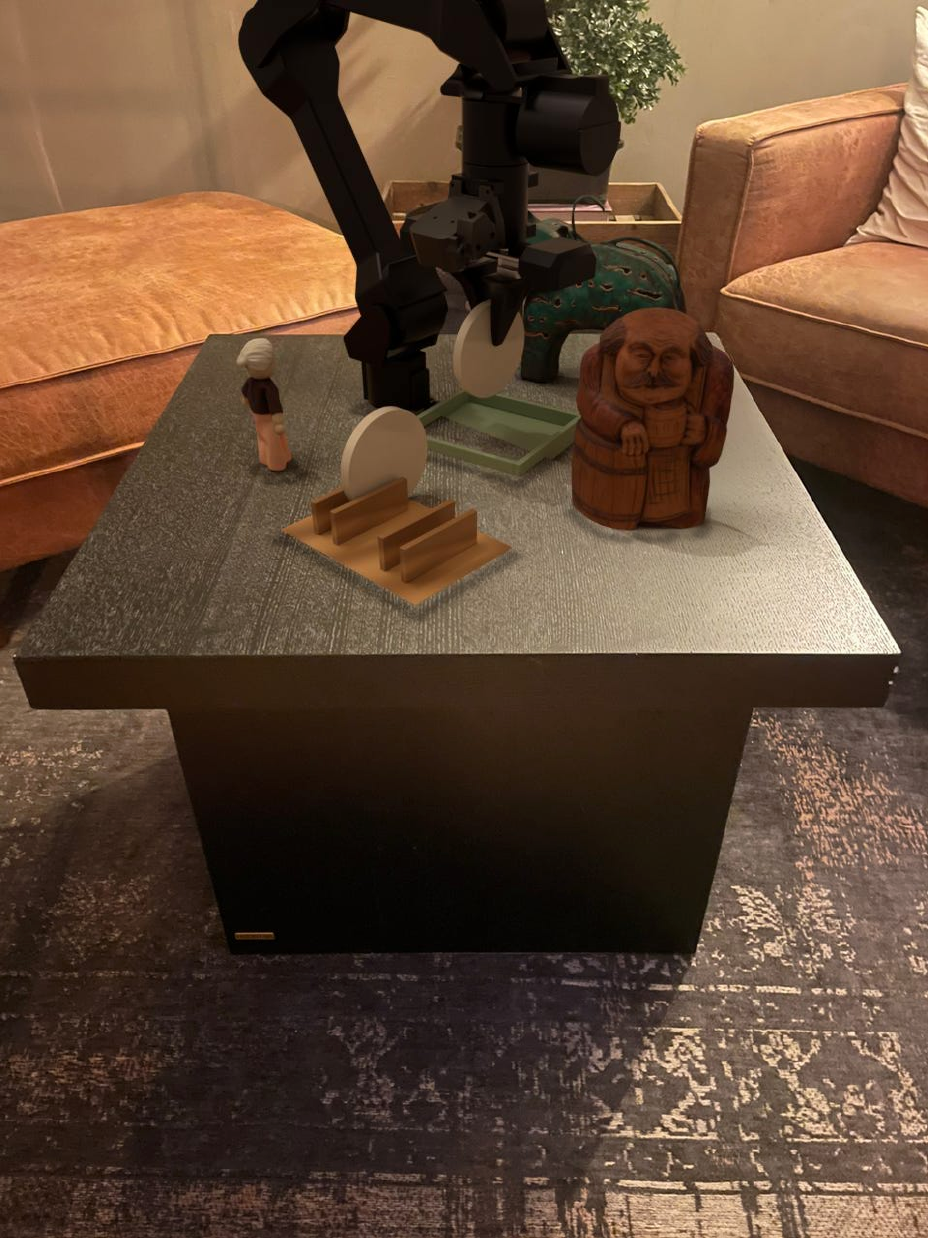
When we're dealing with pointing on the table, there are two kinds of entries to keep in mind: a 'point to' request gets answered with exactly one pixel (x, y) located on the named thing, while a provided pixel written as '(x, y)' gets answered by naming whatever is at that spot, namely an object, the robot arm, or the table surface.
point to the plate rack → (397, 539)
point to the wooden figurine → (650, 422)
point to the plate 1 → (384, 452)
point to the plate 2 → (486, 353)
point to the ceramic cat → (593, 294)
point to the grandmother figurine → (265, 403)
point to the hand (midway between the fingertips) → (491, 343)
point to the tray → (504, 428)
